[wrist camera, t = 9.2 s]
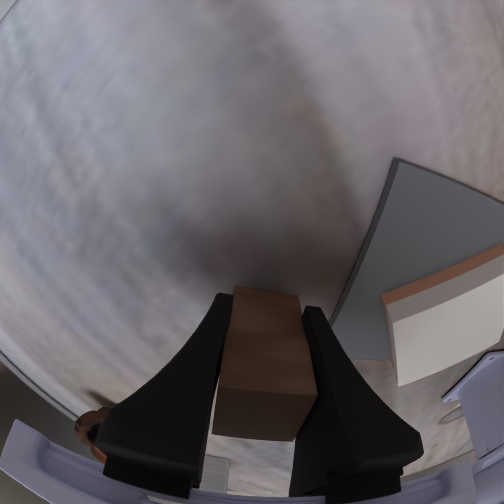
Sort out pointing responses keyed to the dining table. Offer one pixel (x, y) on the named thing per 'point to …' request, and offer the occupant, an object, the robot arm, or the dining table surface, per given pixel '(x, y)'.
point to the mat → (411, 249)
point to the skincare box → (215, 475)
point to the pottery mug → (91, 430)
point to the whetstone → (446, 316)
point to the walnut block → (264, 369)
